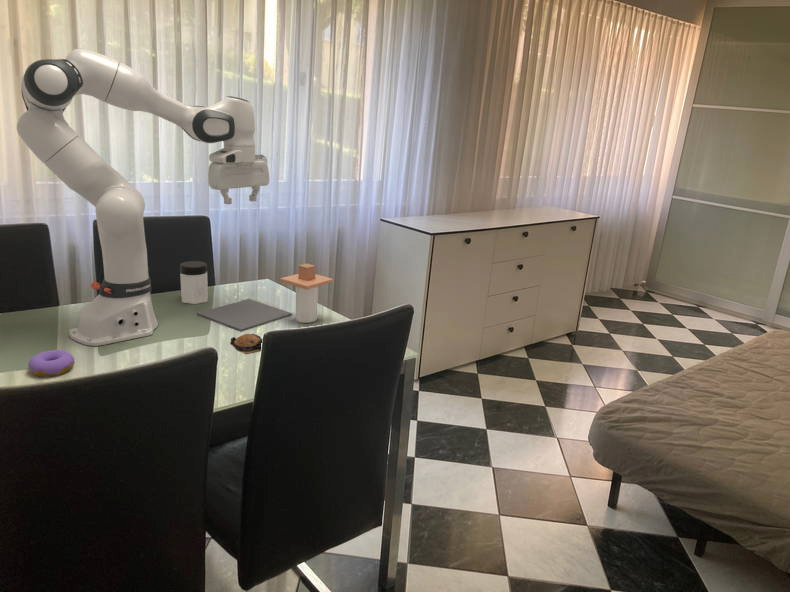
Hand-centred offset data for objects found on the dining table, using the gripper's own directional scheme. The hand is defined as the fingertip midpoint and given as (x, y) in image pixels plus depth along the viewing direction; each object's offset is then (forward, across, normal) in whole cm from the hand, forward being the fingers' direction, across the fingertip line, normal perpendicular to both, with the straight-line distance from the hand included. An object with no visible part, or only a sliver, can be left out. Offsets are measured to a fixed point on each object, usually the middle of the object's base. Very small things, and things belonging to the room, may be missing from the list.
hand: (240, 202), depth 183 cm
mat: (+33, +4, +6) cm, 34 cm away
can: (+33, -6, +22) cm, 40 cm away
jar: (+33, +6, -16) cm, 37 cm away
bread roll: (+34, +19, +25) cm, 46 cm away
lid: (+21, -6, +22) cm, 31 cm away
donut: (+34, +60, +4) cm, 69 cm away
